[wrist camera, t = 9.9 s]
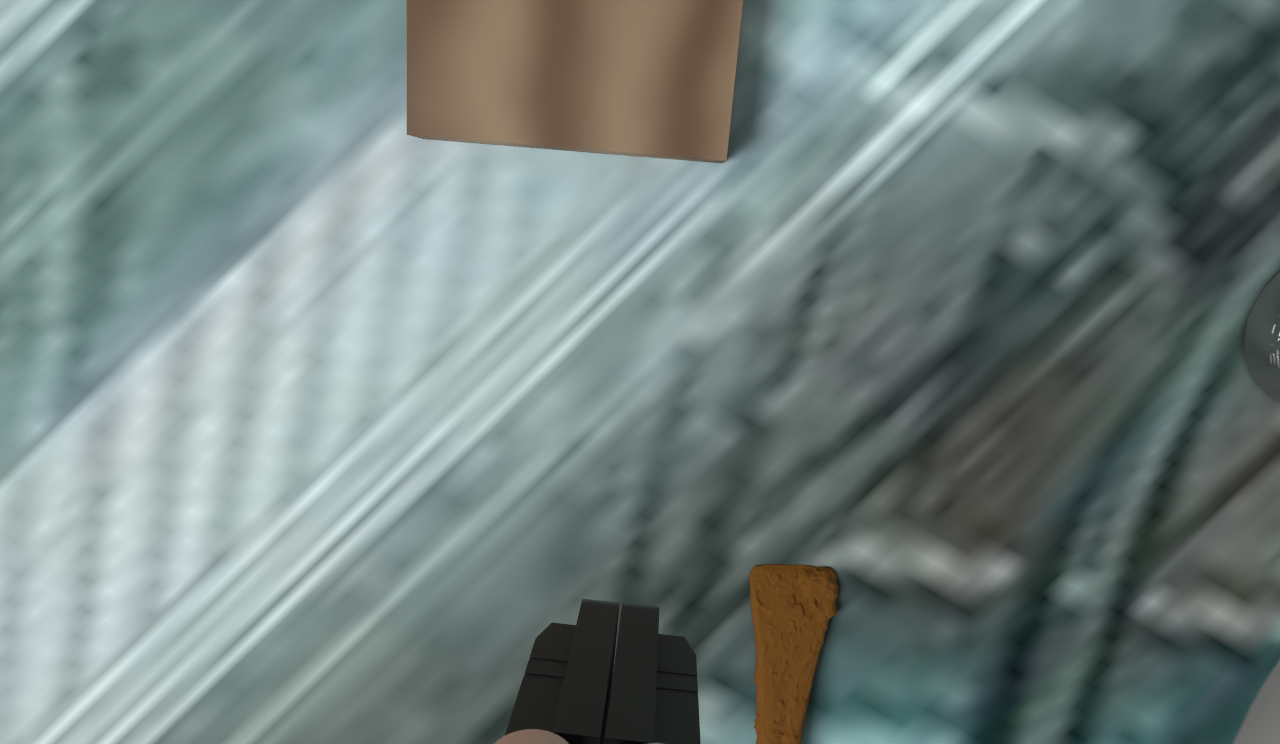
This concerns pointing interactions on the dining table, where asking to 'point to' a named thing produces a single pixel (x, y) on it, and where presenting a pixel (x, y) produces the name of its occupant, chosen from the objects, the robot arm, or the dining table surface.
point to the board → (575, 74)
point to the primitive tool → (788, 643)
